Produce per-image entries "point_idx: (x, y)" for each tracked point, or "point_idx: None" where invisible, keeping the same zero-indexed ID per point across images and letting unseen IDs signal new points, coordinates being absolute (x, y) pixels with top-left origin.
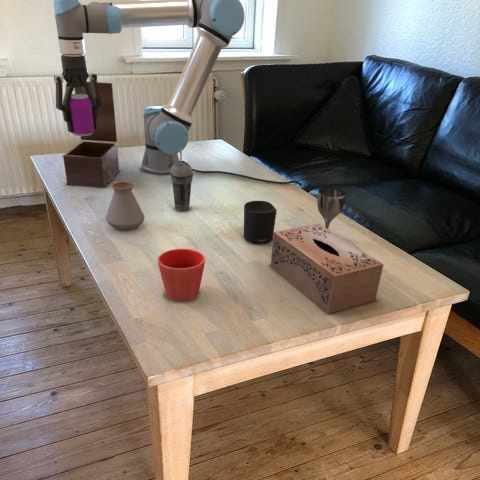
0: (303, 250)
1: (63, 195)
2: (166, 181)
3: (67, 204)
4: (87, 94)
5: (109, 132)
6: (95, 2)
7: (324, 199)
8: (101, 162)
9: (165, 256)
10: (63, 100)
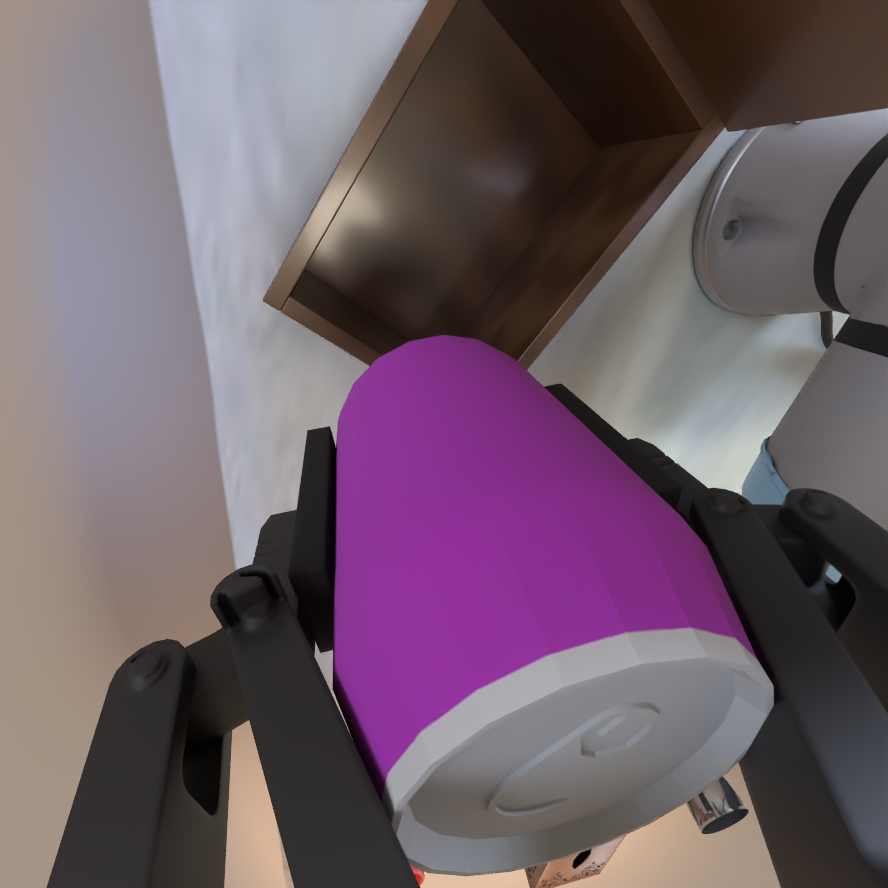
0: (550, 865)
1: (249, 403)
2: (672, 387)
3: (255, 494)
4: (750, 783)
5: (765, 75)
6: None
7: (696, 822)
8: None
9: None
10: (260, 749)
